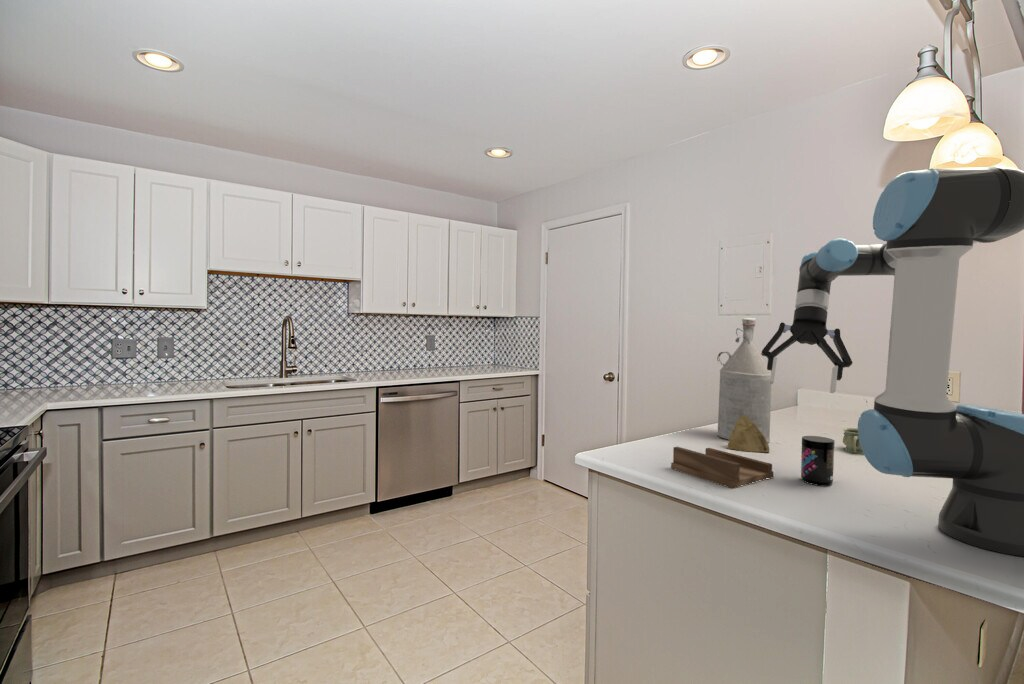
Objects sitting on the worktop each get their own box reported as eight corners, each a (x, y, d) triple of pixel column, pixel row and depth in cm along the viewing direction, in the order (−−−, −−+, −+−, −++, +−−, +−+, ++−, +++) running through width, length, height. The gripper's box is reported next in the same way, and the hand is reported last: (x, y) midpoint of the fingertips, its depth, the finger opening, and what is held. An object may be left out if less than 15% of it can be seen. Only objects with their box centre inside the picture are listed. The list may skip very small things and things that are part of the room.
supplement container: (802, 475, 125) (804, 434, 124) (834, 481, 120) (836, 438, 120) (798, 482, 119) (799, 439, 119) (831, 488, 115) (833, 443, 115)
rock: (779, 443, 147) (749, 432, 156) (772, 423, 144) (741, 413, 152) (757, 468, 144) (728, 456, 153) (750, 448, 140) (720, 436, 149)
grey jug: (725, 431, 174) (728, 317, 172) (777, 440, 160) (781, 317, 159) (706, 436, 166) (709, 317, 164) (759, 447, 152) (763, 317, 151)
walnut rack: (710, 459, 138) (711, 440, 138) (773, 477, 123) (773, 455, 123) (671, 468, 130) (671, 447, 130) (733, 488, 114) (733, 465, 114)
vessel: (872, 458, 141) (872, 436, 140) (836, 452, 147) (836, 431, 147) (883, 451, 148) (884, 430, 148) (848, 445, 155) (849, 425, 155)
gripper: (863, 320, 130) (855, 399, 125) (757, 309, 140) (747, 382, 135) (871, 310, 123) (863, 392, 118) (759, 299, 133) (748, 375, 129)
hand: (801, 387), depth 127 cm, fingers open, 13 cm apart
